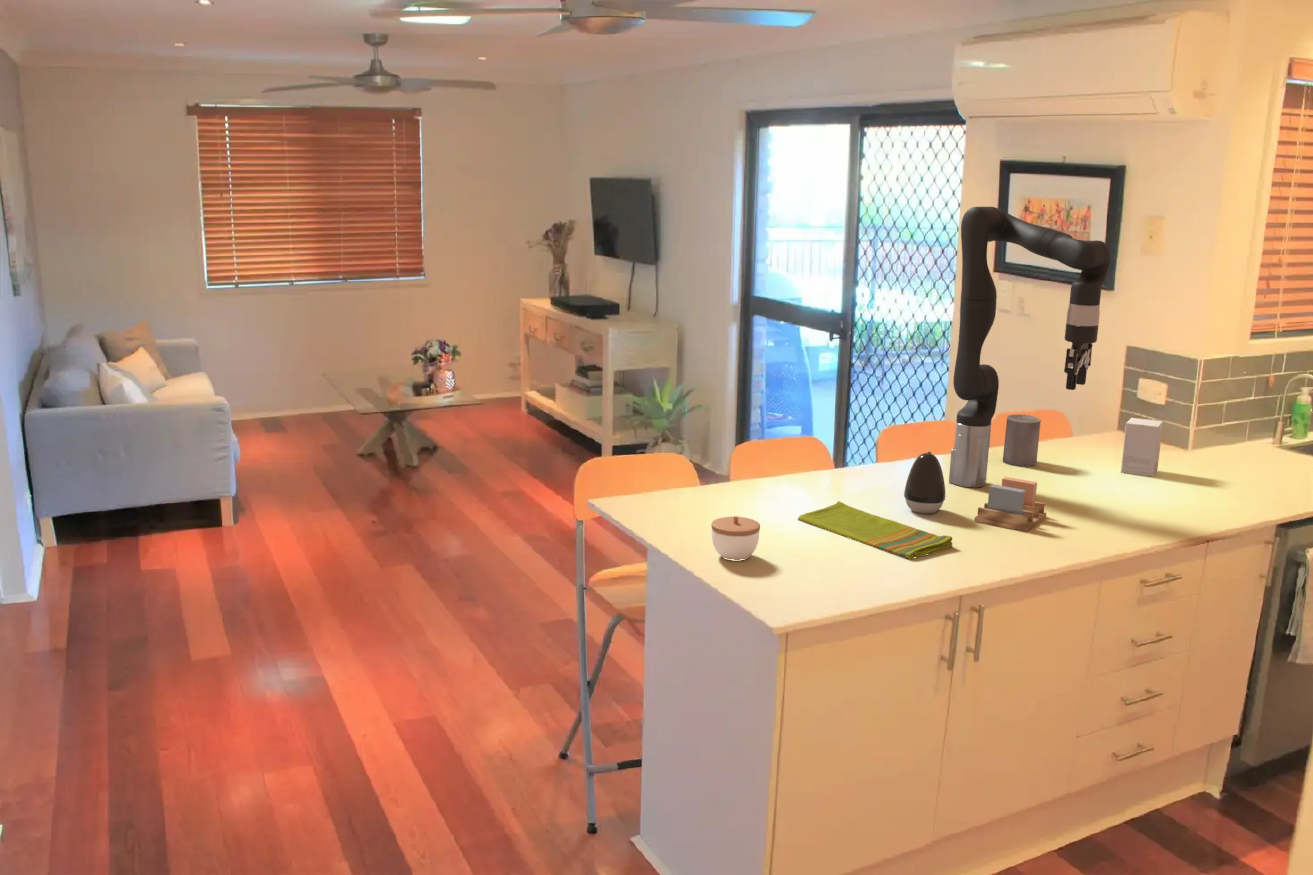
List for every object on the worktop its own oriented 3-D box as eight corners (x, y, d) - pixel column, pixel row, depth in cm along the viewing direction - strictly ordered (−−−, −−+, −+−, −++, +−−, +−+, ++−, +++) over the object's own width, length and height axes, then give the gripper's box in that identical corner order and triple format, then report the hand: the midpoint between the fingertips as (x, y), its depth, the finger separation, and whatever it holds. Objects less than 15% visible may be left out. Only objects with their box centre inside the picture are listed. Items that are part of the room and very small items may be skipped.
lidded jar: (707, 549, 248) (708, 509, 245) (754, 548, 249) (755, 509, 246) (713, 565, 237) (715, 524, 235) (762, 564, 238) (764, 524, 236)
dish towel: (911, 563, 242) (912, 549, 241) (796, 522, 270) (796, 509, 269) (954, 549, 251) (955, 536, 251) (839, 511, 279) (839, 499, 278)
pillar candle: (1000, 457, 332) (1004, 409, 328) (1033, 459, 331) (1038, 410, 327) (1005, 466, 323) (1010, 416, 319) (1039, 467, 321) (1044, 418, 318)
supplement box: (1158, 470, 320) (1164, 420, 316) (1153, 477, 313) (1159, 426, 309) (1125, 465, 325) (1131, 416, 321) (1119, 472, 317) (1125, 422, 314)
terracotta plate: (999, 509, 277) (1002, 478, 275) (1002, 506, 279) (1005, 476, 277) (1031, 515, 273) (1034, 484, 271) (1034, 512, 275) (1037, 482, 273)
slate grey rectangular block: (986, 517, 270) (989, 486, 268) (990, 515, 272) (992, 484, 270) (1018, 523, 266) (1021, 492, 264) (1022, 521, 268) (1025, 490, 266)
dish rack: (974, 521, 270) (975, 507, 269) (995, 507, 282) (996, 494, 281) (1027, 531, 263) (1028, 518, 262) (1046, 516, 275) (1047, 503, 274)
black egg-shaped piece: (945, 507, 281) (950, 450, 278) (942, 518, 272) (946, 459, 268) (905, 503, 285) (909, 446, 281) (900, 514, 275) (904, 455, 272)
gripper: (1075, 318, 278) (1068, 381, 281) (1058, 324, 266) (1051, 389, 270) (1105, 321, 273) (1098, 384, 277) (1090, 327, 262) (1082, 393, 266)
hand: (1075, 386), depth 274 cm, fingers open, 8 cm apart
